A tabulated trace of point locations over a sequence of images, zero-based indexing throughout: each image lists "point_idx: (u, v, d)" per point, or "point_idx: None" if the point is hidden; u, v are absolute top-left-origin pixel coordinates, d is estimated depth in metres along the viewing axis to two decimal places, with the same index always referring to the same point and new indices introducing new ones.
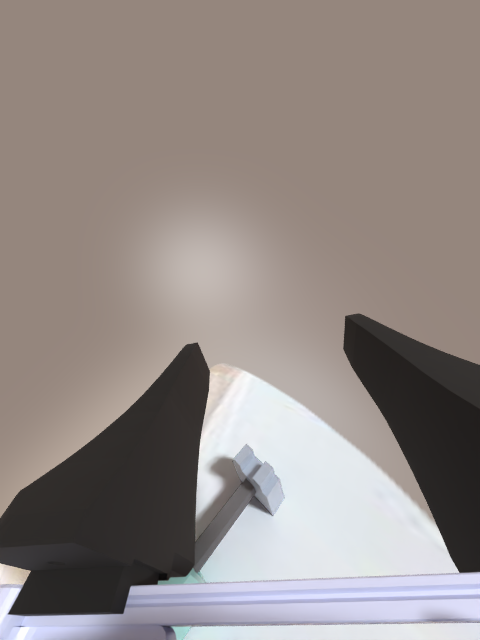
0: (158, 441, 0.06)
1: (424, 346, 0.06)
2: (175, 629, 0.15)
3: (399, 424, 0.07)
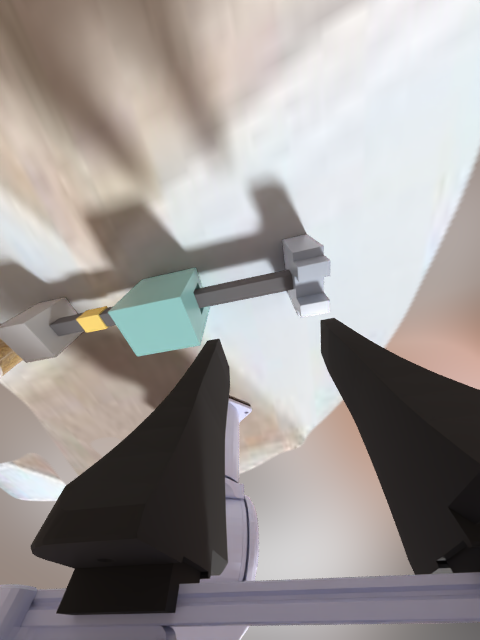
0: (194, 437, 0.06)
1: (386, 352, 0.06)
2: None
3: (365, 428, 0.07)
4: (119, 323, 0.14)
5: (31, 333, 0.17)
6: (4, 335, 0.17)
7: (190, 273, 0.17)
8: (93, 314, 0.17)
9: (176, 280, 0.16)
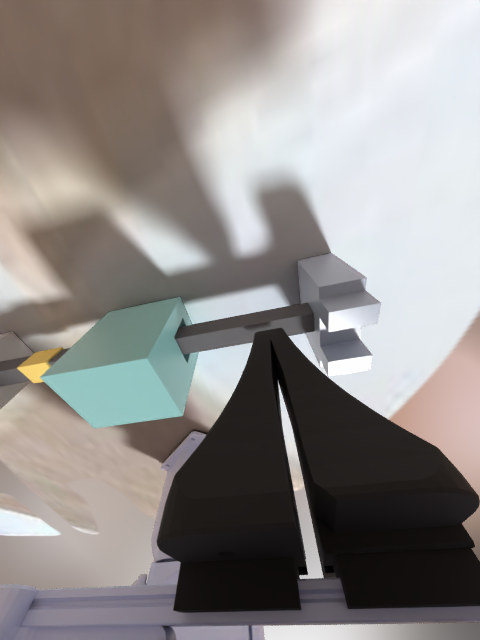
0: (280, 426, 0.06)
1: (308, 364, 0.07)
2: None
3: (295, 436, 0.07)
4: (60, 391, 0.09)
5: None
6: None
7: (171, 307, 0.12)
8: (40, 361, 0.13)
9: (150, 319, 0.11)
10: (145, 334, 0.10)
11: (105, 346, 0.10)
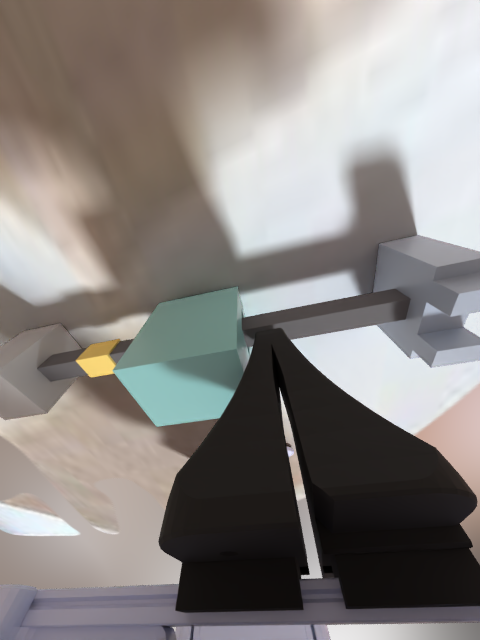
0: None
1: (307, 364, 0.07)
2: None
3: (294, 436, 0.07)
4: (131, 385, 0.09)
5: (9, 384, 0.11)
6: None
7: (233, 296, 0.11)
8: (101, 353, 0.12)
9: (215, 309, 0.10)
10: (218, 324, 0.09)
11: (176, 337, 0.09)
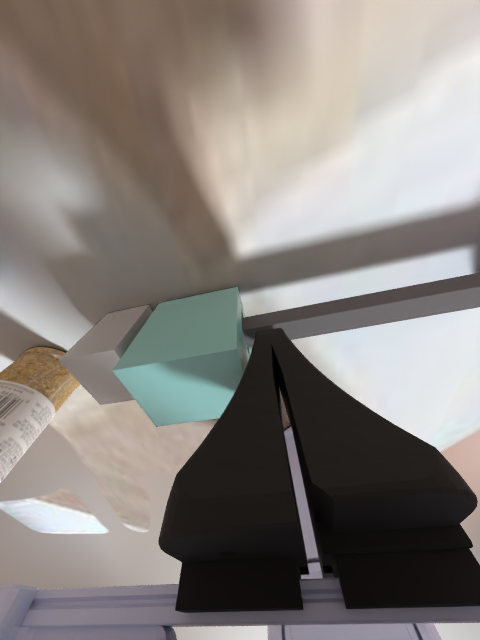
0: None
1: (307, 364, 0.07)
2: None
3: (294, 436, 0.07)
4: (131, 385, 0.09)
5: None
6: (77, 367, 0.10)
7: (233, 297, 0.11)
8: None
9: (215, 310, 0.10)
10: (218, 324, 0.09)
11: (176, 337, 0.09)
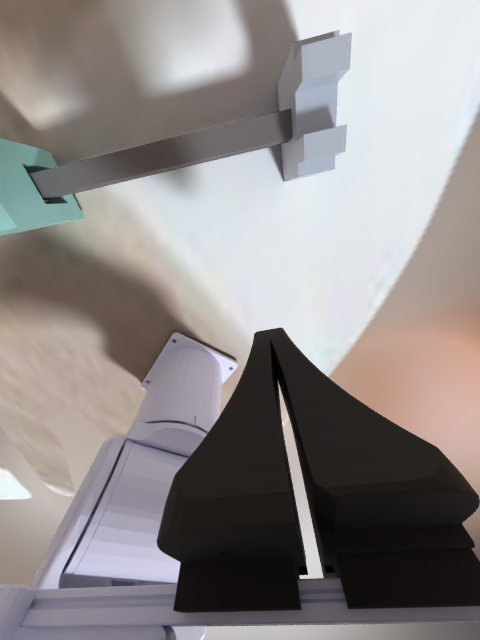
0: (280, 426, 0.06)
1: (308, 364, 0.07)
2: (27, 229, 0.14)
3: (295, 436, 0.07)
4: None
5: None
6: None
7: (30, 147, 0.12)
8: None
9: None
10: None
11: None
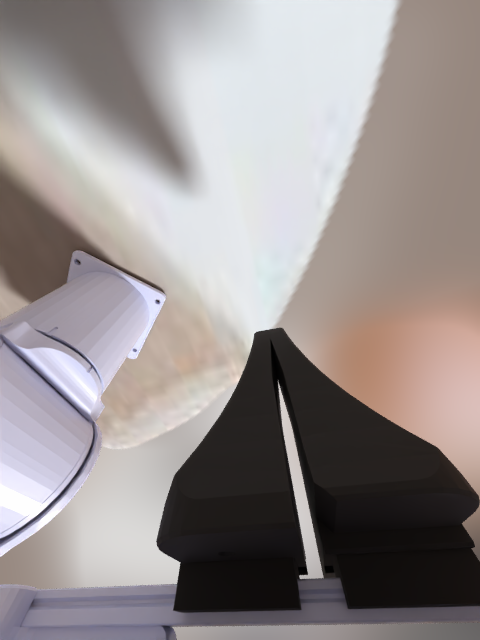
0: (280, 426, 0.06)
1: (308, 364, 0.07)
2: None
3: (295, 436, 0.07)
4: None
5: None
6: None
7: None
8: None
9: None
10: None
11: None
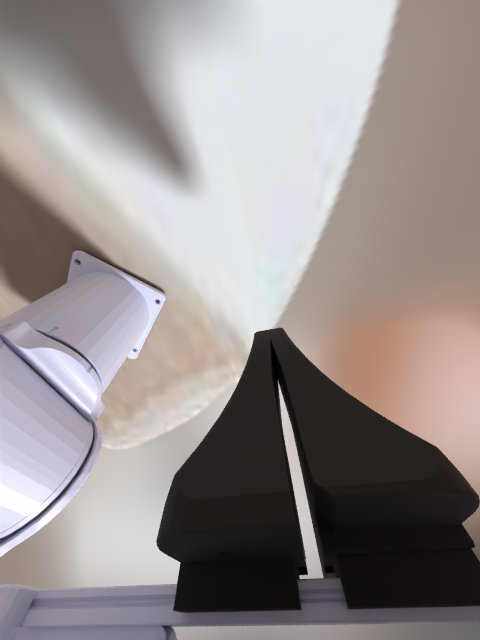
0: (280, 426, 0.06)
1: (308, 364, 0.07)
2: None
3: (295, 436, 0.07)
4: None
5: None
6: None
7: None
8: None
9: None
10: None
11: None
